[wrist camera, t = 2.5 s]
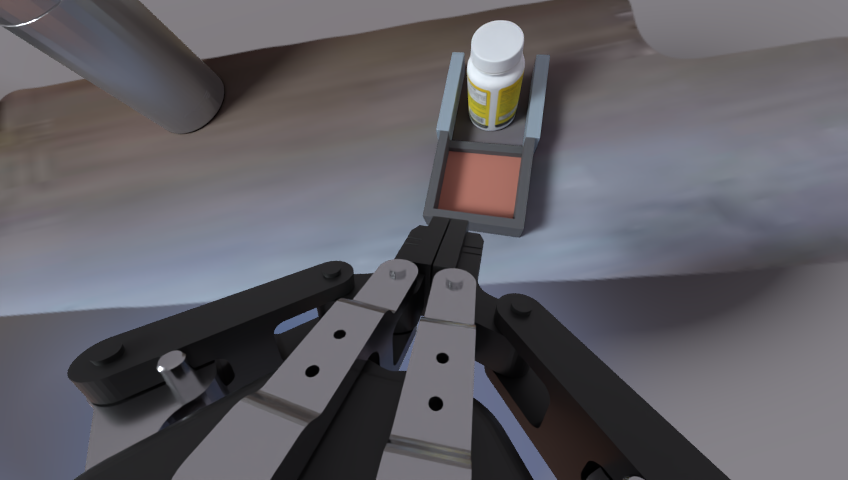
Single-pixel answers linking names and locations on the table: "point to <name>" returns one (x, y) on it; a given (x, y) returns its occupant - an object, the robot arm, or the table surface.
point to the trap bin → (481, 184)
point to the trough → (455, 87)
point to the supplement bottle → (495, 74)
